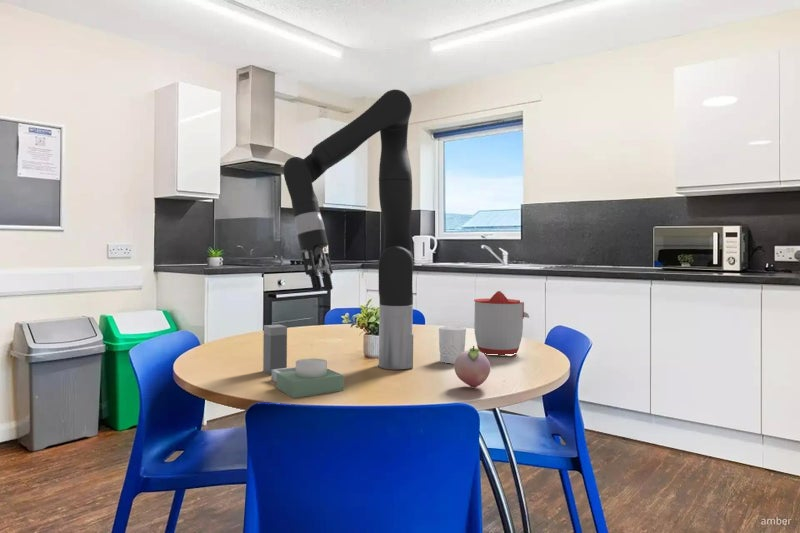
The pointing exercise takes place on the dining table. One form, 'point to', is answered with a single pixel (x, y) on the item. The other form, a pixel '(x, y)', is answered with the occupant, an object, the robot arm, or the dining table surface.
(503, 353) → the citrus juicer
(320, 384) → the shallow green tray
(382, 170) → the robot arm
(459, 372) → the decorative fruit
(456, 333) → the white cup
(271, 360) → the tall grey square pillar
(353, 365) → the dining table surface
